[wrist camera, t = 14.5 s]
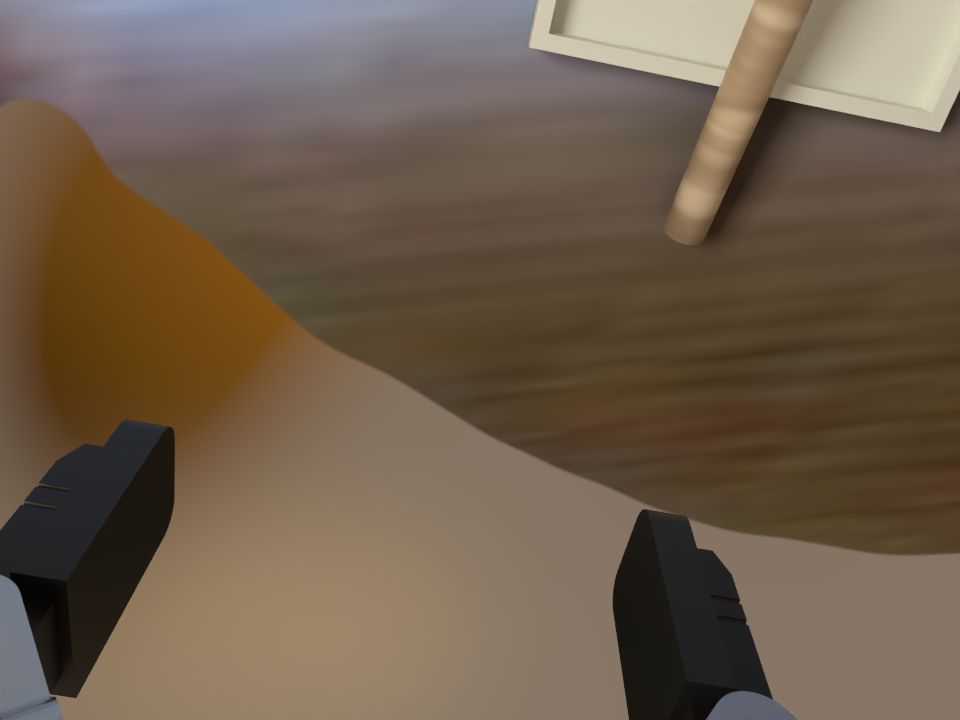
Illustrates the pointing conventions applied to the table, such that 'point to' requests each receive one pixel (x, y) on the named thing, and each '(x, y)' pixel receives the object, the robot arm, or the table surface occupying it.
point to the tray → (810, 64)
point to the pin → (734, 115)
